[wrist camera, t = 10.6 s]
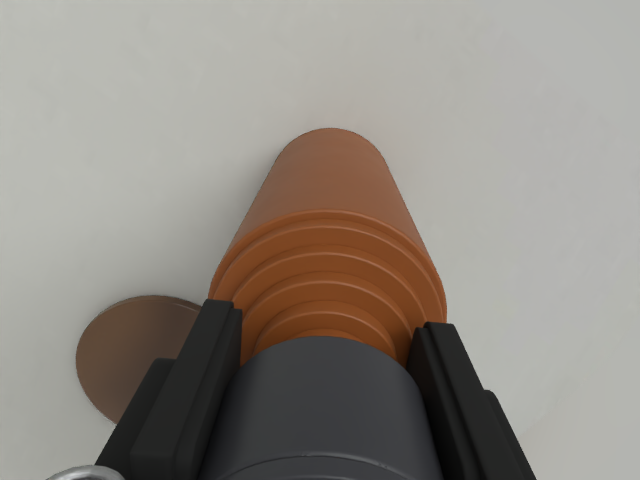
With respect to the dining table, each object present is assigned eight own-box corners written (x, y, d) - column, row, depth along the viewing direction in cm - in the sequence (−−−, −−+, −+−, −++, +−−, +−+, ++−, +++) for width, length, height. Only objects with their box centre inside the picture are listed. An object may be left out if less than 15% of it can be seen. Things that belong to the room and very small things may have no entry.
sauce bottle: (401, 135, 21) (611, 396, 5) (380, 251, 24) (479, 684, 7) (274, 120, 21) (81, 337, 5) (265, 238, 24) (113, 647, 7)
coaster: (255, 305, 25) (254, 311, 24) (246, 441, 29) (244, 448, 28) (72, 285, 25) (67, 290, 24) (87, 425, 29) (82, 432, 28)
